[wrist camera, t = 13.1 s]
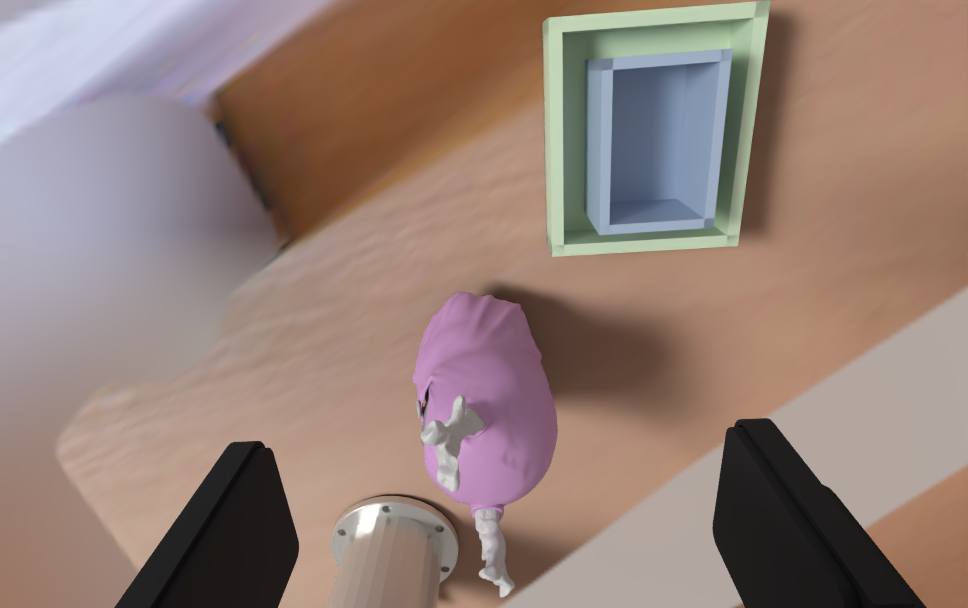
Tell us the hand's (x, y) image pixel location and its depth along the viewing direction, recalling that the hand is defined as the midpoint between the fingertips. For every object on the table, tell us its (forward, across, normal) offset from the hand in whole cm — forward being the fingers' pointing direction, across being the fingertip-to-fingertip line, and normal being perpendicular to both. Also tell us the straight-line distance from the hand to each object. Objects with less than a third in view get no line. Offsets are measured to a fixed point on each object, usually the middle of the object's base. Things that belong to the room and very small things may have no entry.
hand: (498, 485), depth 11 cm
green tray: (+30, -10, -3) cm, 32 cm away
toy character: (+31, +2, +13) cm, 33 cm away
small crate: (+30, -10, -3) cm, 31 cm away
